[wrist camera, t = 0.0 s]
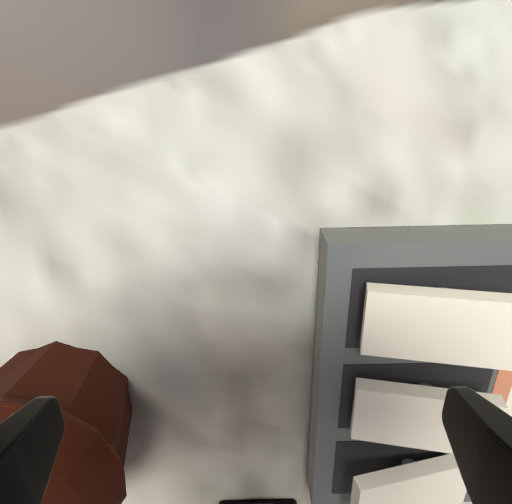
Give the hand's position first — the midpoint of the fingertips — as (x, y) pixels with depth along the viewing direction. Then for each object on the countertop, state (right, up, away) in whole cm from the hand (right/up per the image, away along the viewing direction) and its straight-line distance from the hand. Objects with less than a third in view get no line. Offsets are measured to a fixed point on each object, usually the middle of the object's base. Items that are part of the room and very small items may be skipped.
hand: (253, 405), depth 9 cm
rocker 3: (+10, -12, +18) cm, 24 cm away
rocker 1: (+10, 0, +12) cm, 16 cm away
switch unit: (+11, -5, +18) cm, 22 cm away
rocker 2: (+10, -6, +15) cm, 19 cm away
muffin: (-13, -6, +19) cm, 24 cm away
